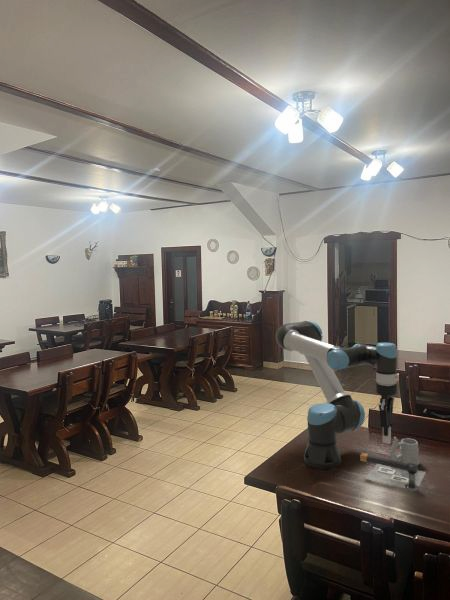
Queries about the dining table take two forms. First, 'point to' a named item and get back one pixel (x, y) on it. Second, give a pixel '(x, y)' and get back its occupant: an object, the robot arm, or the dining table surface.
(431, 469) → the dining table surface
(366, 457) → the grey lever orange grip
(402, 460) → the mug
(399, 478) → the label right
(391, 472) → the label left
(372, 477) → the plate
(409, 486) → the grey metal knob
